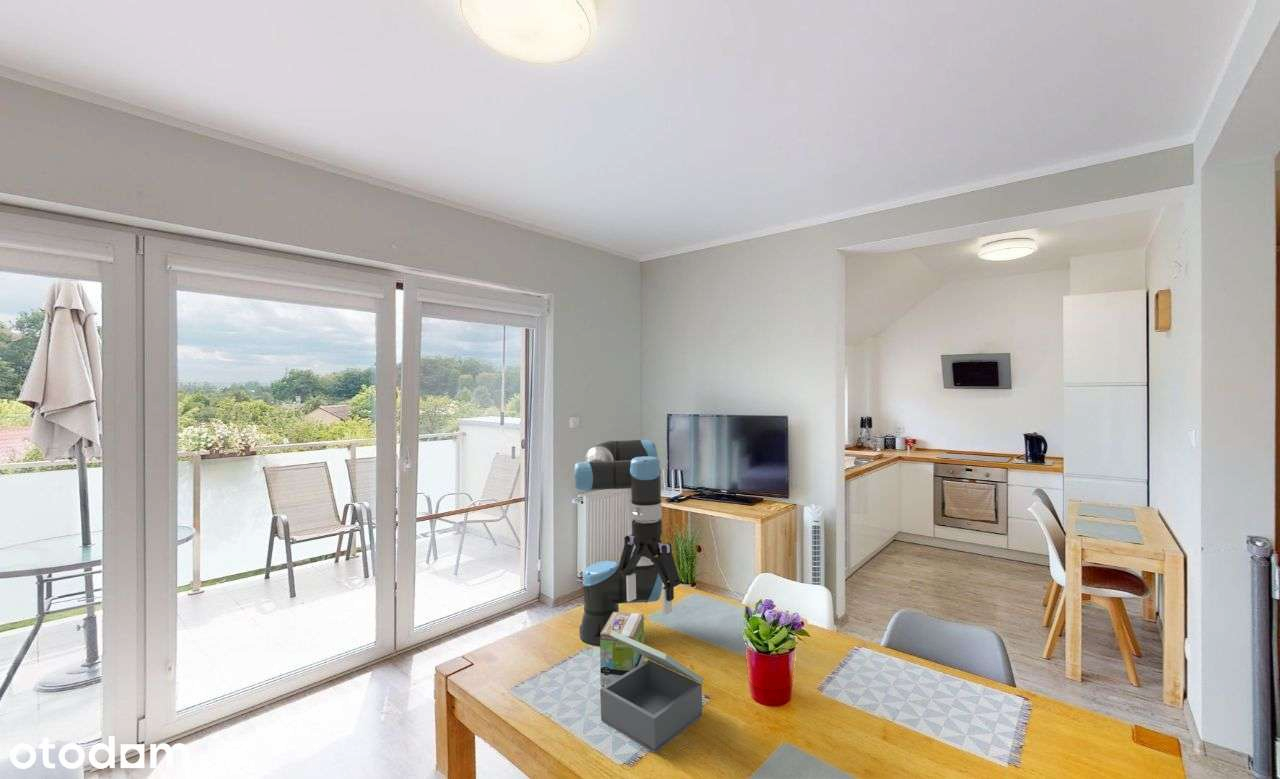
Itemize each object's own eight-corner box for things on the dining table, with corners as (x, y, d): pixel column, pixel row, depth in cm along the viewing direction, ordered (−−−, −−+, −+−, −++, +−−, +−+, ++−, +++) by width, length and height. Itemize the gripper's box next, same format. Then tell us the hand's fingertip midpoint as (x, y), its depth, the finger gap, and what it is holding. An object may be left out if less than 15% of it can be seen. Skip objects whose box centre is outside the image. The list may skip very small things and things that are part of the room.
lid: (647, 658, 145) (649, 654, 145) (702, 683, 132) (703, 678, 133) (609, 635, 134) (611, 630, 135) (664, 659, 122) (666, 654, 122)
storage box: (649, 688, 145) (648, 659, 144) (702, 715, 132) (701, 684, 132) (601, 720, 131) (600, 688, 131) (655, 753, 119) (654, 718, 119)
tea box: (634, 689, 144) (633, 636, 144) (599, 686, 146) (598, 633, 146) (645, 660, 159) (644, 612, 159) (613, 658, 161) (611, 610, 161)
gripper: (603, 515, 137) (605, 598, 137) (674, 530, 120) (676, 625, 121) (623, 509, 142) (625, 589, 142) (693, 523, 126) (696, 614, 126)
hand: (648, 606), depth 132 cm, fingers open, 11 cm apart
